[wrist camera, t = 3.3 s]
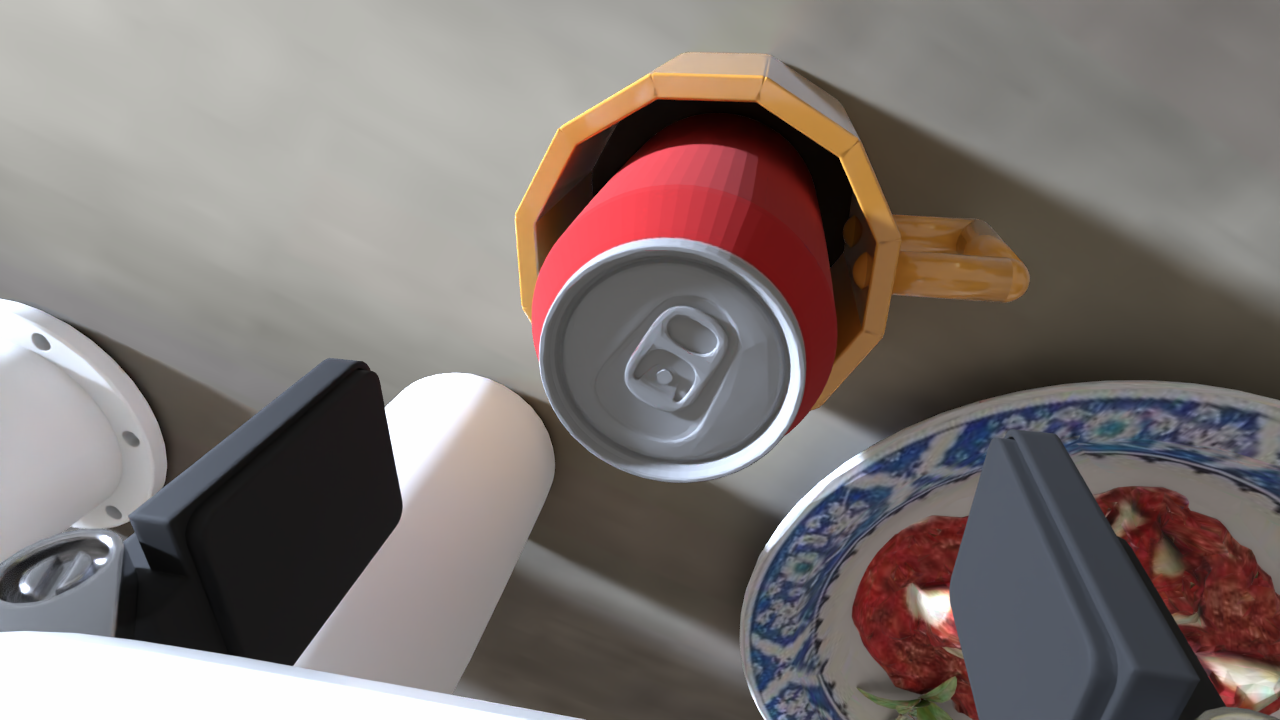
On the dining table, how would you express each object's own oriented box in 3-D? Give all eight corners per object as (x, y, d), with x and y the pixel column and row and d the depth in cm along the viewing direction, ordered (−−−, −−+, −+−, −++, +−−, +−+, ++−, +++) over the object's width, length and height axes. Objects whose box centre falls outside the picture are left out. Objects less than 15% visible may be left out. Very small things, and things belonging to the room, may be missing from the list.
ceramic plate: (1356, 221, 21) (1436, 252, 19) (1482, 757, 29) (1550, 831, 27) (636, 499, 31) (623, 546, 28) (879, 845, 39) (886, 906, 36)
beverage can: (589, 240, 26) (457, 411, 15) (682, 66, 23) (594, 132, 12) (747, 333, 26) (723, 558, 16) (859, 176, 23) (923, 330, 13)
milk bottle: (447, 331, 29) (-75, 858, 11) (594, 446, 30) (333, 1078, 13) (362, 442, 32) (-136, 976, 15) (498, 541, 34) (188, 1138, 16)
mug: (581, 329, 28) (528, 416, 22) (571, 49, 23) (502, 68, 17) (948, 360, 26) (996, 465, 20) (1019, 59, 21) (1107, 84, 15)
